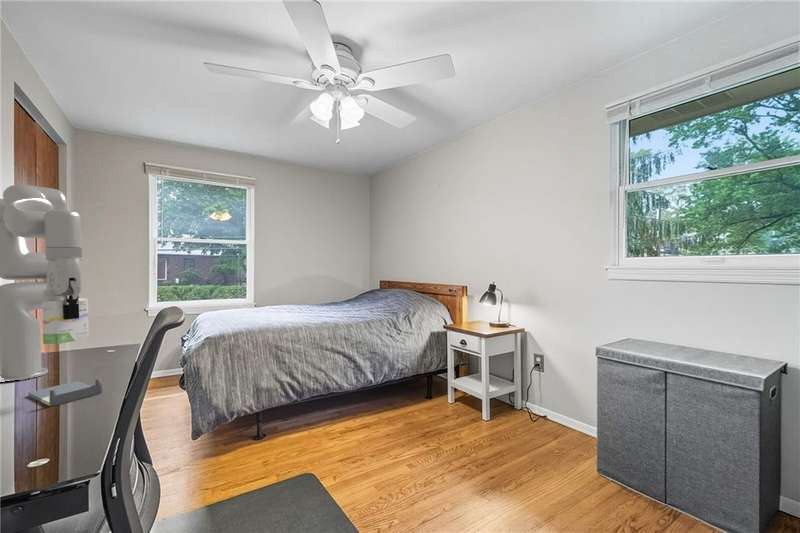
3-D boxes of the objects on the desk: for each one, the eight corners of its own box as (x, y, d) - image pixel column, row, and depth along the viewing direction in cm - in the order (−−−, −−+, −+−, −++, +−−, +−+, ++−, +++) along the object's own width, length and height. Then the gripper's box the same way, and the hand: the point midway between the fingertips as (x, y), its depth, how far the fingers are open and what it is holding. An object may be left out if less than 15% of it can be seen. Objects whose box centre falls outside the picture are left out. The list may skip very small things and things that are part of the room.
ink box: (56, 344, 96) (54, 289, 96) (42, 344, 97) (40, 290, 97) (90, 338, 104) (88, 287, 104) (77, 337, 105) (75, 287, 105)
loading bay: (28, 395, 101) (27, 381, 101) (77, 384, 111) (76, 371, 110) (51, 406, 93) (50, 391, 93) (102, 393, 102) (101, 379, 102)
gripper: (34, 255, 102) (37, 319, 102) (58, 253, 93) (60, 322, 93) (69, 256, 108) (71, 315, 108) (94, 253, 100) (96, 317, 100)
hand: (66, 317), depth 101 cm, fingers closed on ink box, 6 cm apart
